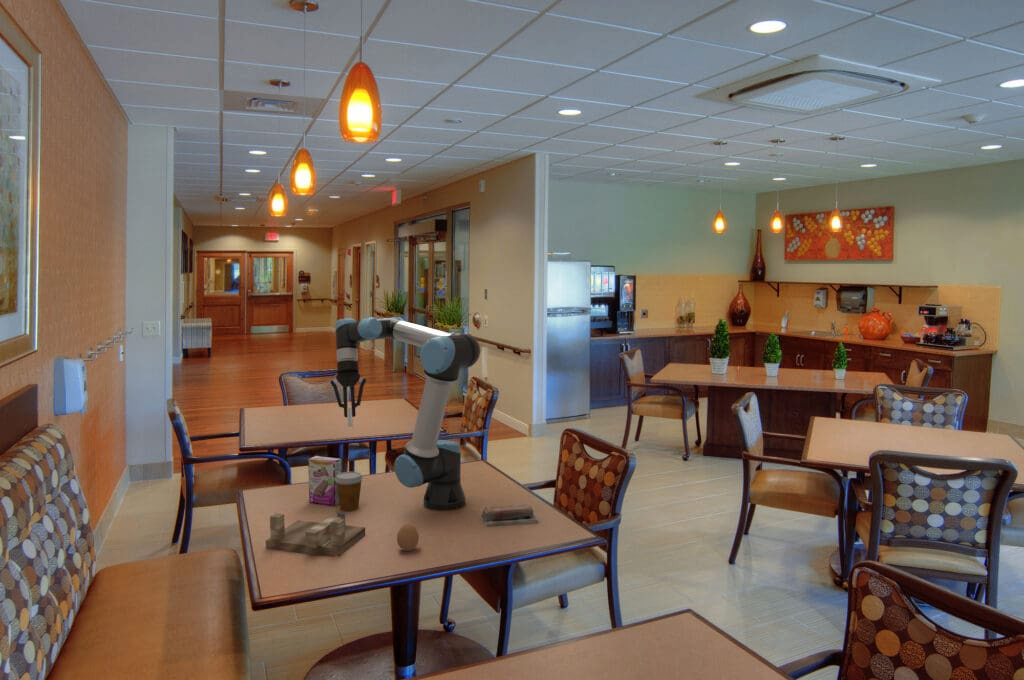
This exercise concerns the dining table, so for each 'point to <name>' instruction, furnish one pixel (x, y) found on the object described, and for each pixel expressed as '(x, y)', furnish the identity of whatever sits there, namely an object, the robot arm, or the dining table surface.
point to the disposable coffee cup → (349, 489)
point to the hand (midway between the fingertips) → (350, 426)
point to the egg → (407, 537)
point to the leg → (319, 533)
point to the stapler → (508, 515)
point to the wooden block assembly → (296, 538)
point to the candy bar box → (323, 480)
